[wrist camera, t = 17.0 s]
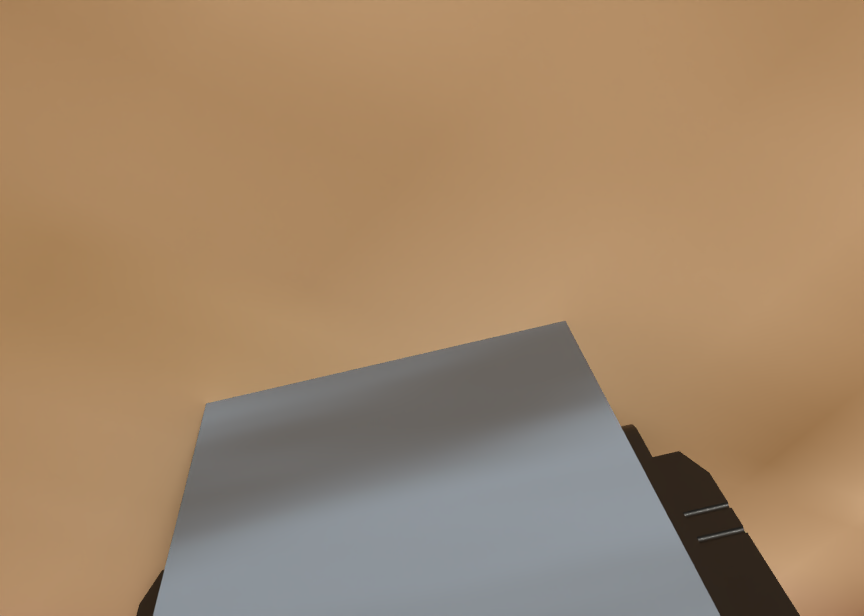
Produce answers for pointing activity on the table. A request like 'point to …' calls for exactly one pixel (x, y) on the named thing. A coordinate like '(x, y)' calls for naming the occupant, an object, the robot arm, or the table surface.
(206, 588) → the cube
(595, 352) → the table surface
